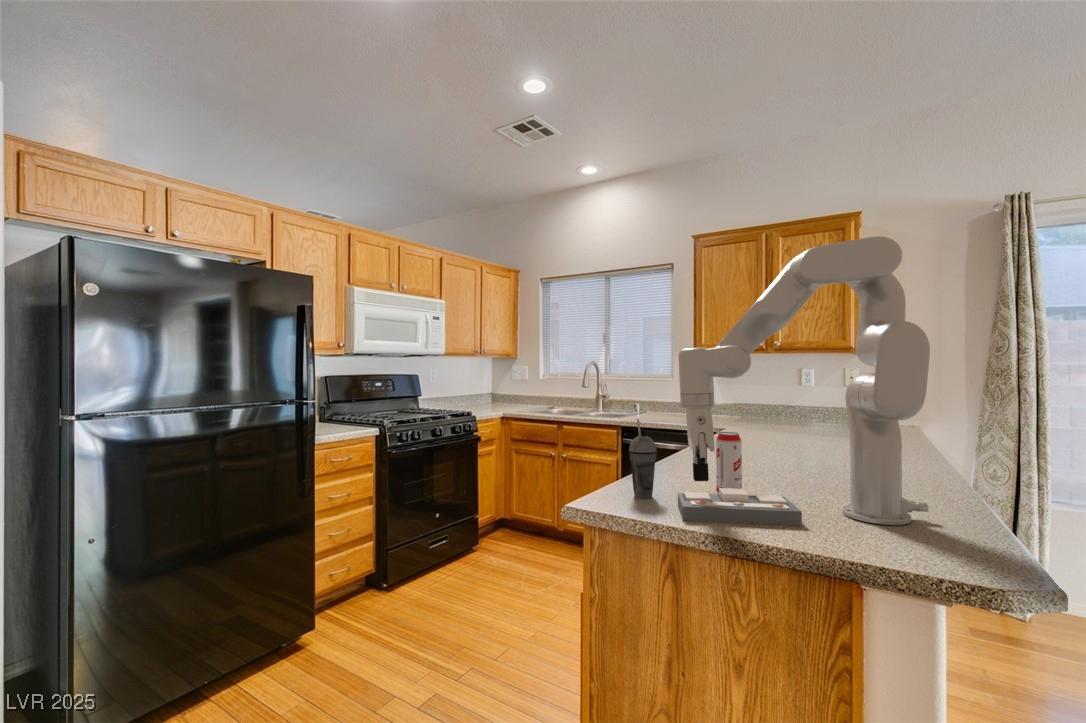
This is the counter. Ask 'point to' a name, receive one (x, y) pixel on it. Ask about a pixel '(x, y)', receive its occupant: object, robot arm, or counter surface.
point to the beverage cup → (642, 465)
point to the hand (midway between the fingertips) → (701, 480)
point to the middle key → (733, 495)
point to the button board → (739, 511)
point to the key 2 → (770, 499)
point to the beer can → (728, 461)
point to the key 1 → (696, 496)
